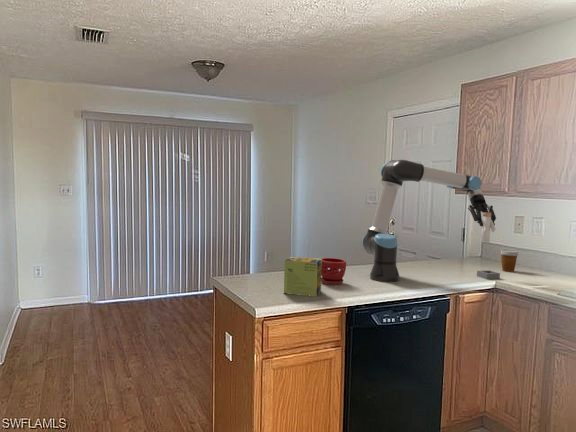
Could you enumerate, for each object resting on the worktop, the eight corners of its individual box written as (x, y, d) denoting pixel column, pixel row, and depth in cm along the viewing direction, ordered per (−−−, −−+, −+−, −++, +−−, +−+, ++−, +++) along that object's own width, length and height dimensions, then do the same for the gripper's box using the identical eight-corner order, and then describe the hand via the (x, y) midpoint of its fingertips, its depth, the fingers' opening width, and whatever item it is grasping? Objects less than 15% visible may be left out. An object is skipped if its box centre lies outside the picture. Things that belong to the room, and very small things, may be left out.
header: (486, 281, 233) (487, 273, 233) (476, 277, 241) (477, 270, 241) (499, 280, 235) (500, 273, 235) (489, 277, 243) (489, 270, 243)
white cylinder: (484, 242, 237) (486, 212, 236) (479, 241, 241) (481, 212, 240) (491, 242, 238) (492, 212, 237) (486, 241, 242) (488, 212, 240)
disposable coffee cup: (501, 272, 259) (502, 251, 258) (497, 268, 268) (498, 249, 267) (519, 273, 257) (520, 252, 256) (514, 270, 266) (516, 250, 265)
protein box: (316, 297, 195) (317, 262, 194) (283, 294, 199) (284, 260, 198) (321, 291, 205) (322, 258, 204) (289, 288, 209) (290, 256, 208)
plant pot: (335, 287, 213) (336, 263, 212) (314, 283, 222) (314, 259, 221) (350, 283, 223) (351, 259, 222) (329, 279, 232) (329, 256, 231)
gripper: (488, 202, 254) (502, 235, 238) (459, 202, 253) (471, 234, 238) (494, 194, 248) (508, 226, 233) (464, 193, 247) (476, 225, 232)
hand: (489, 230), depth 235 cm, fingers closed on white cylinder, 4 cm apart
